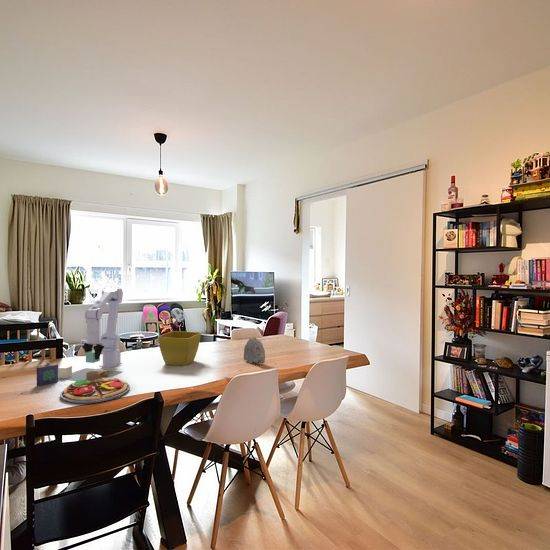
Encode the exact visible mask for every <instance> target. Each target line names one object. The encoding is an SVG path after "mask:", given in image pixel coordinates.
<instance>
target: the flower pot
mask: <svg viewBox="0 0 550 550" xmlns="http://www.w3.org/2000/svg"><path fill="white" fill-rule="evenodd" d="M201 335H202V332H199V331H198V332H197V331H179V330H172V331H170V332H167V333H164V334H161V335H158V336H157V340H158V346H159V350H160V354H161V356H162V359H163V362H164V364H165V365H171V366H180V367H181V366H184V367H185V366H187V365H189V364H190V363H192V362H194V361H195V359H196V357H197V354H198V353H197V352H198V351H199V347H200V343H201V342H200V341H201Z"/></svg>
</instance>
